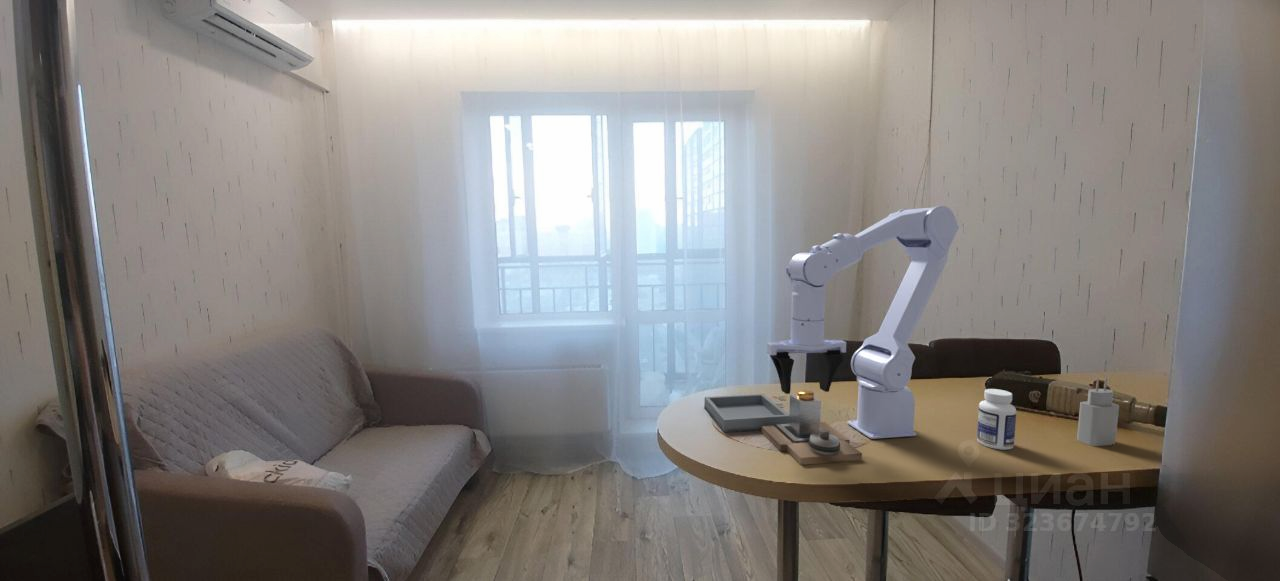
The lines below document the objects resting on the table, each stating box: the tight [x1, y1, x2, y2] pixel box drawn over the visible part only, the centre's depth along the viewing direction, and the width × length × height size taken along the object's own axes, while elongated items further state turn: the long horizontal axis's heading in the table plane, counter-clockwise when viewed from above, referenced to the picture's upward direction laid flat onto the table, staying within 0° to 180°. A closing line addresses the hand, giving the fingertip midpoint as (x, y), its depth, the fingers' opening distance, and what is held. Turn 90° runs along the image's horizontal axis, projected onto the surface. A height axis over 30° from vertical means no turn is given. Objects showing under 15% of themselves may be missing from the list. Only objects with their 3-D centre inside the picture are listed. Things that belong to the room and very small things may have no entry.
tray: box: [703, 393, 790, 433], centre depth 99 cm, size 14×14×2 cm
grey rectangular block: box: [789, 389, 822, 438], centre depth 87 cm, size 4×4×9 cm
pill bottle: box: [976, 388, 1017, 451], centre depth 85 cm, size 5×5×10 cm
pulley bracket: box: [760, 421, 863, 465], centre depth 85 cm, size 13×14×4 cm
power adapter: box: [1076, 377, 1120, 447], centre depth 85 cm, size 3×5×12 cm, turn 101°
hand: (805, 391), depth 87 cm, fingers open, 7 cm apart
